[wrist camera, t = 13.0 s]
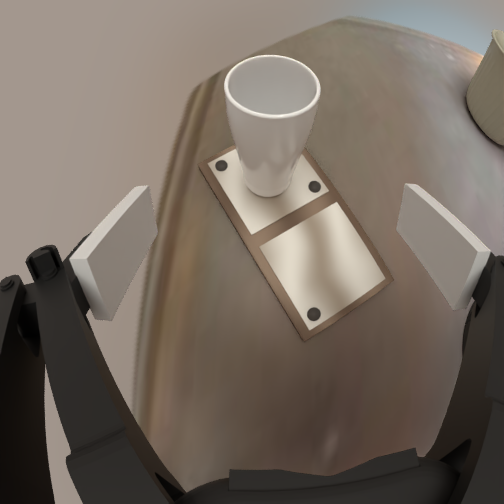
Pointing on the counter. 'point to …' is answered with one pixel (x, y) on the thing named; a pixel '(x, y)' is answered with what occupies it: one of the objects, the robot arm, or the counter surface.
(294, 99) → the white cup
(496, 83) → the canister
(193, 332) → the counter surface
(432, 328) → the counter surface
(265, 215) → the coaster board
